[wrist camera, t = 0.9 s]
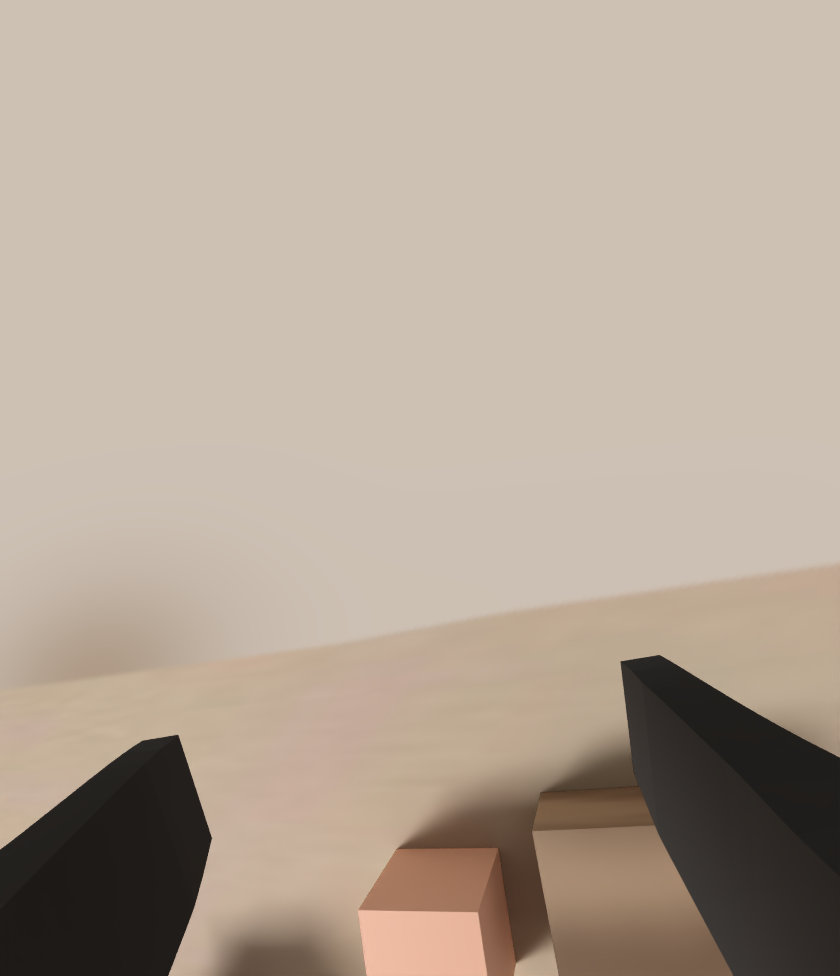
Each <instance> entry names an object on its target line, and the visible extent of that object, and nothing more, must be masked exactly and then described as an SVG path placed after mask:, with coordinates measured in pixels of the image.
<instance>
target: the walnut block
mask: <svg viewBox="0 0 840 976" xmlns="http://www.w3.org/2000/svg"><path fill="white" fill-rule="evenodd" d="M532 834H533V840H534V845H535V850H536V856H537V861H538V866H539V872H540V877H541V882H542V888H543V893H544V898H545V904H546V909H547V914H548V920H549V925H550V930H551V936H552V941H553V946H554V952H555V957H556V962H557V968H558V973H559V976H733V974H732V972H731V970H730V969H729V967H728V965H727V963H726V961H725V959H724V957H723V955H722V954H721V952H720V950H719V948H718V946H717V944H716V942H715V940H714V939H713V937H712V935H711V933H710V931H709V929H708V927H707V925H706V924H705V922H704V920H703V918H702V916H701V914H700V912H699V910H698V909H697V907H696V905H695V903H694V901H693V899H692V897H691V895H690V894H689V892H688V890H687V888H686V886H685V884H684V882H683V880H682V879H681V877H680V875H679V873H678V871H677V869H676V867H675V865H674V863H673V861H672V860H671V858H670V856H669V854H668V852H667V850H666V848H665V846H664V844H663V842H662V840H661V838H660V837H659V834H658V832H657V829H656V827H655V825H654V822H653V820H652V817H651V815H650V812H649V810H648V807H647V805H646V802H645V800H644V797H643V795H642V792H641V789H640V787H639V786H635V787H620V788H604V789H589V790H574V791H559V792H543V793H541V794H540V798H539V803H538V807H537V812H536V816H535V820H534V825H533V829H532Z"/></svg>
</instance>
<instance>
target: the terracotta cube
mask: <svg viewBox="0 0 840 976" xmlns="http://www.w3.org/2000/svg"><path fill="white" fill-rule="evenodd" d="M358 913H359V921H360V928H361V936H362V944H363V952H364V959H365V967H366V975H367V976H514V971H515V965H516V961H515V954H514V948H513V941H512V934H511V928H510V921H509V915H508V908H507V902H506V895H505V889H504V882H503V876H502V869H501V863H500V856H499V849H498V848H435V849H396V851H395V852H394V854H393V856H392V857H391V859H390V860H389V862H388V864H387V865H386V867H385V868H384V870H383V872H382V873H381V875H380V876H379V878H378V880H377V881H376V883H375V884H374V886H373V887H372V889H371V891H370V892H369V894H368V895H367V897H366V899H365V900H364V902H363V903H362V905H361V907H360V908H359V910H358Z"/></svg>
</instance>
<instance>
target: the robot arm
mask: <svg viewBox="0 0 840 976" xmlns="http://www.w3.org/2000/svg"><path fill="white" fill-rule="evenodd" d="M621 670H622V678H623V686H624V695H625V703H626V712H627V720H628V728H629V737H630V745H631V753H632V762H633V770H634V774H635V776H636V779H637V782H638V784H639V787H640V789H641V792H642V795H643V797H644V800H645V802H646V805H647V807H648V810H649V812H650V815H651V817H652V820H653V822H654V825H655V827H656V829H657V832H658V834H659V837H660V838H661V840H662V842H663V844H664V846H665V848H666V850H667V852H668V854H669V856H670V858H671V860H672V861H673V863H674V865H675V867H676V869H677V871H678V873H679V875H680V877H681V879H682V880H683V882H684V884H685V886H686V888H687V890H688V892H689V894H690V895H691V897H692V899H693V901H694V903H695V905H696V907H697V909H698V910H699V912H700V914H701V916H702V918H703V920H704V922H705V924H706V925H707V927H708V929H709V931H710V933H711V935H712V937H713V939H714V940H715V942H716V944H717V946H718V948H719V950H720V952H721V954H722V955H723V957H724V959H725V961H726V963H727V965H728V967H729V969H730V970H731V972H732V974H733V976H840V758H839V757H837V756H835V755H834V754H832V753H830V752H828V751H826V750H824V749H822V748H820V747H818V746H816V745H814V744H812V743H810V742H808V741H806V740H804V739H802V738H800V737H798V736H797V735H795V734H793V733H791V732H789V731H787V730H786V729H784V728H782V727H780V726H778V725H776V724H775V723H773V722H771V721H769V720H768V719H766V718H764V717H762V716H761V715H759V714H757V713H755V712H754V711H752V710H750V709H748V708H747V707H745V706H743V705H742V704H740V703H738V702H737V701H735V700H733V699H732V698H730V697H728V696H726V695H725V694H723V693H722V692H720V691H718V690H717V689H715V688H713V687H712V686H710V685H708V684H707V683H705V682H704V681H702V680H700V679H699V678H697V677H695V676H694V675H692V674H691V673H689V672H687V671H686V670H684V669H682V668H681V667H679V666H677V665H676V664H674V663H673V662H671V661H669V660H667V659H666V658H664V657H662V656H660V655H657V656H651V657H645V658H639V659H633V660H627V661H621ZM211 840H212V837H211V834H210V831H209V828H208V825H207V822H206V819H205V816H204V812H203V809H202V806H201V803H200V800H199V797H198V794H197V791H196V788H195V785H194V782H193V779H192V776H191V773H190V769H189V766H188V763H187V760H186V757H185V754H184V751H183V748H182V745H181V742H180V739H179V736H178V735H174V736H168V737H162V738H156V739H150V740H144V741H141V742H140V743H138V744H137V745H135V746H134V747H132V748H131V749H129V750H128V751H126V752H125V753H123V754H122V755H121V756H119V757H118V758H117V759H115V760H114V761H113V762H111V763H110V764H109V765H107V766H106V767H105V768H104V769H102V770H101V771H100V772H98V773H97V774H96V775H95V776H93V777H92V778H91V779H89V780H88V781H87V782H86V783H84V784H83V785H82V786H81V787H79V788H78V789H77V790H76V791H74V792H73V793H72V794H71V795H69V796H68V797H67V798H66V799H64V800H63V801H62V802H60V803H59V804H58V805H57V806H55V807H54V808H53V809H52V810H50V811H49V812H48V813H47V814H45V815H44V816H43V817H42V818H40V819H39V820H38V821H37V822H35V823H34V824H33V825H32V826H30V827H29V828H28V829H26V830H25V831H24V832H23V833H21V834H20V835H19V836H18V837H16V838H15V839H14V840H12V841H11V842H10V843H8V844H7V845H6V846H4V847H3V848H2V849H0V976H168V975H169V972H170V970H171V967H172V965H173V962H174V959H175V957H176V954H177V952H178V949H179V946H180V944H181V941H182V939H183V936H184V933H185V931H186V928H187V925H188V923H189V920H190V917H191V915H192V912H193V909H194V906H195V903H196V899H197V896H198V892H199V888H200V885H201V881H202V877H203V873H204V869H205V865H206V861H207V857H208V852H209V848H210V844H211Z"/></svg>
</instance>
